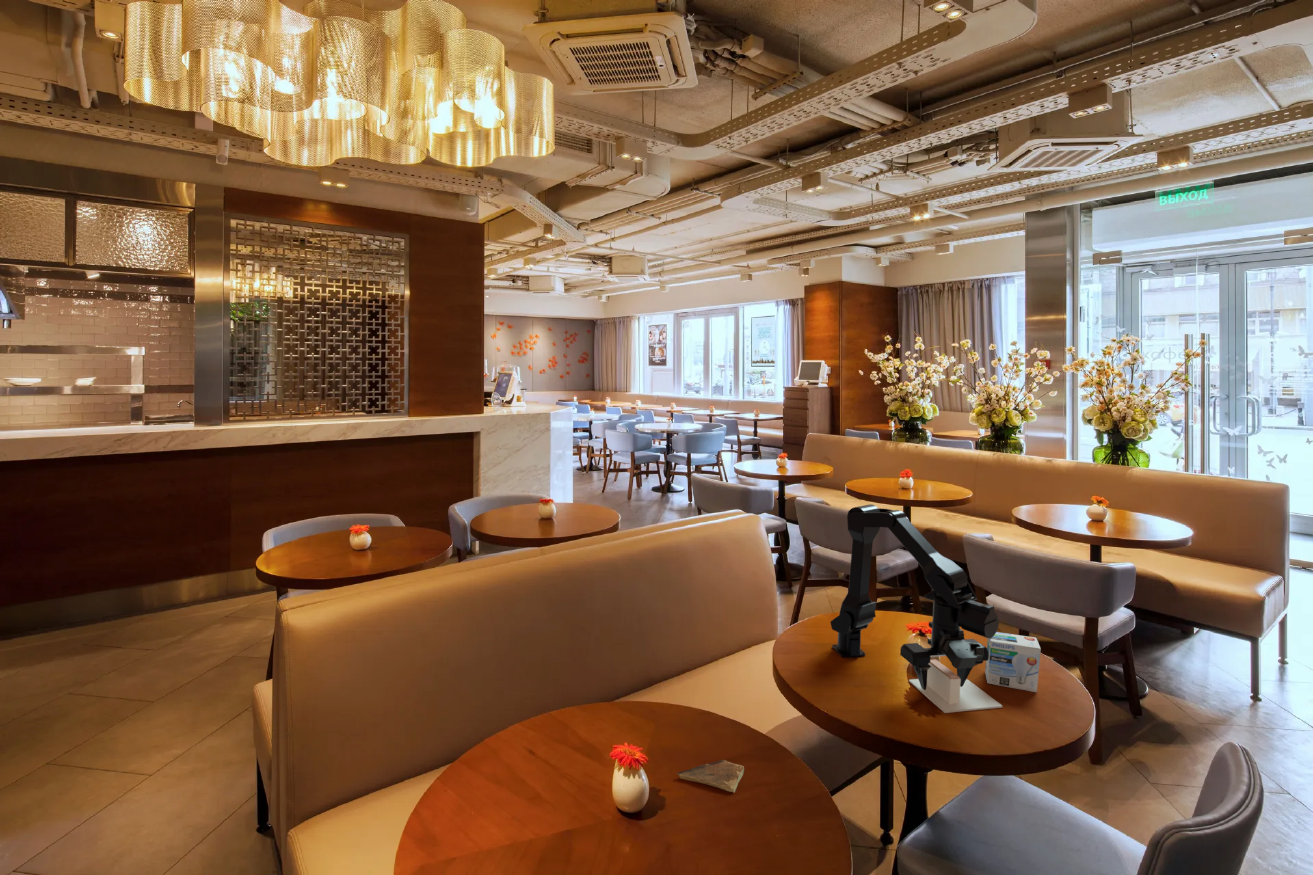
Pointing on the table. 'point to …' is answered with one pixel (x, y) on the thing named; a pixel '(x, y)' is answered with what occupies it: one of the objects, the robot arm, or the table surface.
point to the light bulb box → (1013, 661)
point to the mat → (960, 698)
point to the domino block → (943, 682)
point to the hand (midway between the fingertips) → (942, 687)
